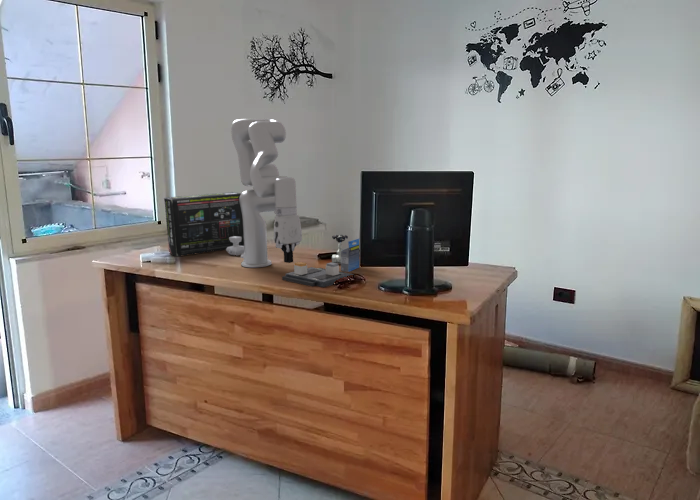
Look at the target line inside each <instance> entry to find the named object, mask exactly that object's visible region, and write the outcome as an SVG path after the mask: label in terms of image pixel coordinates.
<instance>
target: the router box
mask: <svg viewBox="0 0 700 500" xmlns="http://www.w3.org/2000/svg"><path fill="white" fill-rule="evenodd" d="M241 193H242V192H241ZM241 193H239V192H235V191H234V192H233V191H230V192H229V191H228V192H219V193H218V192H217V193H206V194H192V195H190V194H189V195H181V196H179V195H178V196H170V197H169V196H167V197H164V198H163V200H164V208H165V219H166V230H167V242H168V243H167V244H168V251H169V252H170V253H171V254H172V256H174V257H182V256H181V255H184V256H188V255H187V254H192V255H196V254H195V253H199V254H204V253H203V252H206V253H211V252H218V251H226V248H227V247H230V246H233V242H230V240H229V237H233V236H238V237H242V240H241V242H239V246H244V234H243V219H242V212H241V207H240V202H239V197H240V195H241ZM170 253H169V254H170ZM171 254H170V255H171Z"/></svg>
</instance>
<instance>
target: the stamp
mask: <svg viewBox="0 0 700 500" xmlns="http://www.w3.org/2000/svg"><path fill="white" fill-rule="evenodd" d="M229 240H230V242H233V246H230V247H227V248H226V250H225V251H226V252H227V253H228V254H229V255H231V256H235V255H236V256H237V257H238V256H241V255H243V254H244V246H239V242H241V240H242V237H238V236H233V237H229Z"/></svg>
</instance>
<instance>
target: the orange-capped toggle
mask: <svg viewBox="0 0 700 500" xmlns="http://www.w3.org/2000/svg"><path fill="white" fill-rule="evenodd" d="M307 268H308V264H307V263H306V262H301V261H298V262H294V265H293V270H294V271H293V272H294V274H299V275H304V274H307Z"/></svg>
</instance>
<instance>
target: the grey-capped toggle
mask: <svg viewBox="0 0 700 500" xmlns="http://www.w3.org/2000/svg"><path fill="white" fill-rule="evenodd" d="M325 269H326V274H328V275H333V276H334V275H338V274H339V272H340V265H339V264H338V263H332V261H331V262H328V263H326V265H325Z"/></svg>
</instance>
